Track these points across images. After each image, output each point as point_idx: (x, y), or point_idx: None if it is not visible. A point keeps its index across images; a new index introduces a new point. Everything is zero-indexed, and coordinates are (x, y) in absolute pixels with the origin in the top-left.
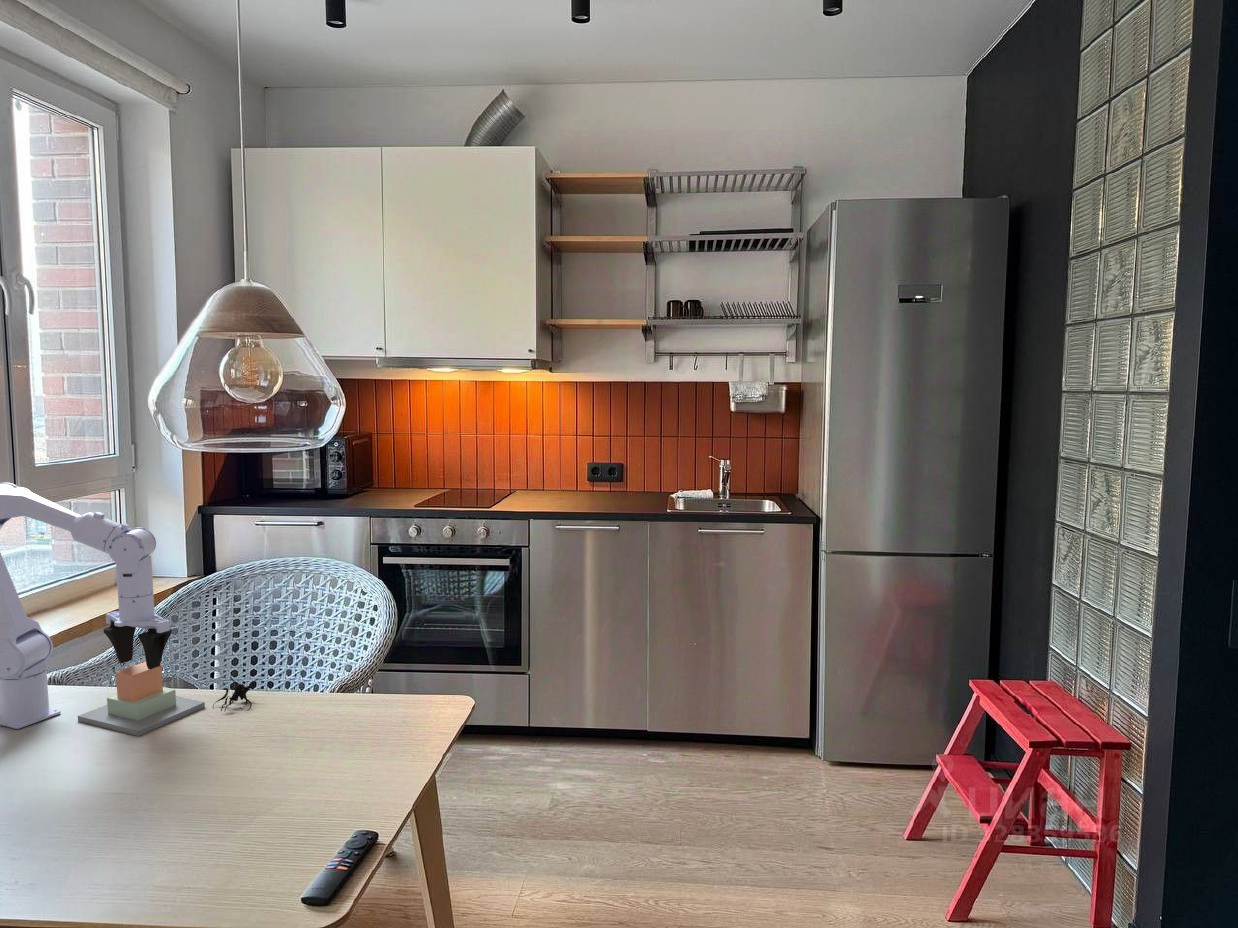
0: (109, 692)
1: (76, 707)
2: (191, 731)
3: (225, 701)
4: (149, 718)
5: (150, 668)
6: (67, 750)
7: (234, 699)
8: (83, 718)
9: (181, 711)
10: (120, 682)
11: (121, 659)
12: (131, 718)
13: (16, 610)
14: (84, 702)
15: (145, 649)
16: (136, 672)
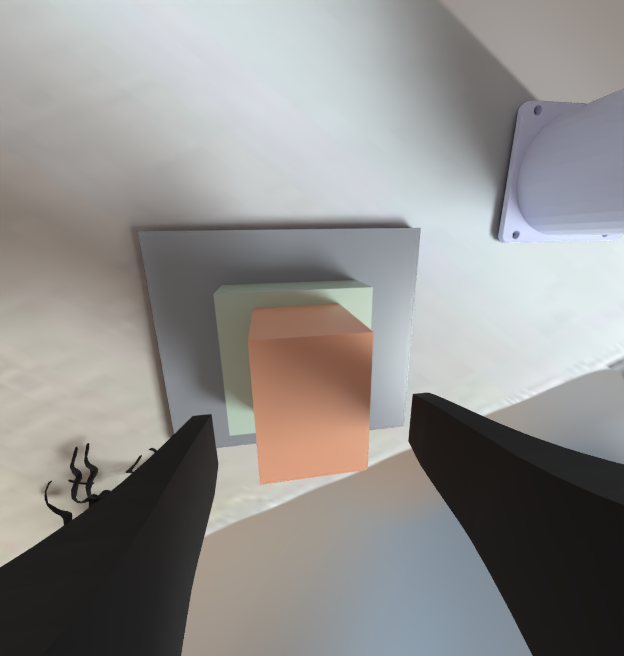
0: (492, 383)
1: (492, 288)
2: (32, 326)
3: (91, 477)
4: (203, 310)
5: (190, 418)
6: (239, 49)
7: (88, 497)
8: (394, 228)
9: (169, 385)
10: (331, 319)
11: (424, 404)
12: (251, 284)
13: None
14: (499, 317)
15: (136, 503)
16: (271, 375)
